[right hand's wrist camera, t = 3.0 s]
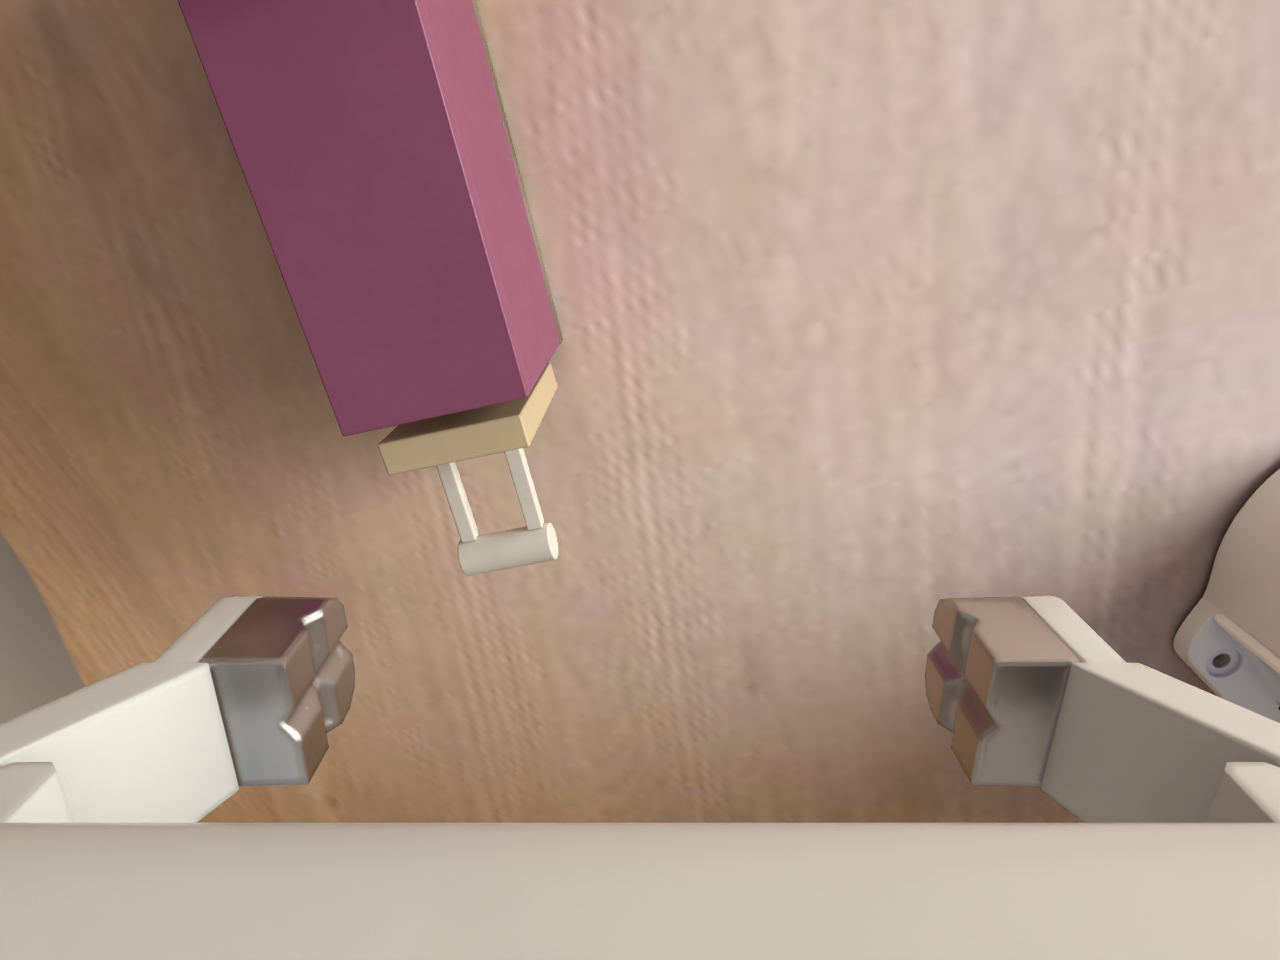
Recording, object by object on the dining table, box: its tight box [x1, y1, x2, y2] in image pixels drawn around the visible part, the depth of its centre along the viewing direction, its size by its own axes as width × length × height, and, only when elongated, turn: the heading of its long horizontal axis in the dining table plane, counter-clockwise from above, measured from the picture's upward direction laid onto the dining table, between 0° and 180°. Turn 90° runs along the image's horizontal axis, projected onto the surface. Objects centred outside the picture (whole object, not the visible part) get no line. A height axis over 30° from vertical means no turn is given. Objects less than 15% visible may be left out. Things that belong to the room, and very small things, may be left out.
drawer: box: [378, 363, 558, 576], centre depth 28 cm, size 23×5×8 cm, turn 12°
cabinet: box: [178, 0, 563, 436], centre depth 26 cm, size 19×6×10 cm, turn 12°
